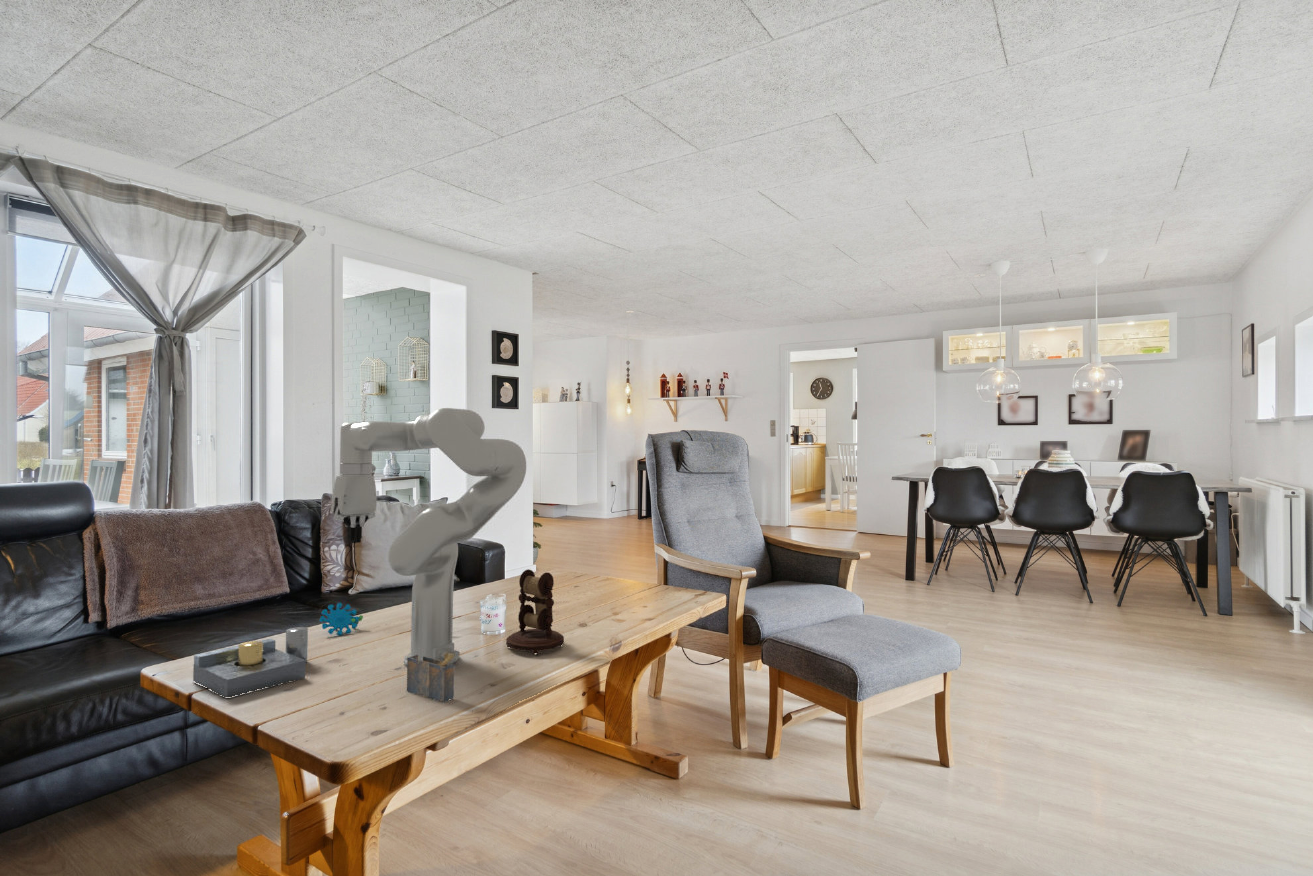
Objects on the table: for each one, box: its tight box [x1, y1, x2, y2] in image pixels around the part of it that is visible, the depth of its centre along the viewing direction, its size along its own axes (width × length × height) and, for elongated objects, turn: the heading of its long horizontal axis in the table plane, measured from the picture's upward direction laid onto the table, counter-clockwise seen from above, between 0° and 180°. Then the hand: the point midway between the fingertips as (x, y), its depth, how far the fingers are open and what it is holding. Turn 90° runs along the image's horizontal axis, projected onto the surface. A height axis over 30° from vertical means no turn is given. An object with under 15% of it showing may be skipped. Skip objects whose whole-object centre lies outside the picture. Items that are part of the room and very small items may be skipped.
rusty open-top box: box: [406, 652, 455, 703], centre depth 144 cm, size 11×3×10 cm, turn 59°
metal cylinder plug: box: [285, 626, 309, 665], centre depth 163 cm, size 5×5×8 cm
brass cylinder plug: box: [238, 640, 263, 667], centre depth 151 cm, size 5×5×8 cm
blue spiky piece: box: [319, 602, 364, 636], centre depth 190 cm, size 11×6×10 cm
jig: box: [192, 638, 306, 697], centre depth 151 cm, size 16×16×6 cm
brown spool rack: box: [505, 569, 565, 654], centre depth 178 cm, size 15×15×20 cm
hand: (354, 542), depth 175 cm, fingers closed
